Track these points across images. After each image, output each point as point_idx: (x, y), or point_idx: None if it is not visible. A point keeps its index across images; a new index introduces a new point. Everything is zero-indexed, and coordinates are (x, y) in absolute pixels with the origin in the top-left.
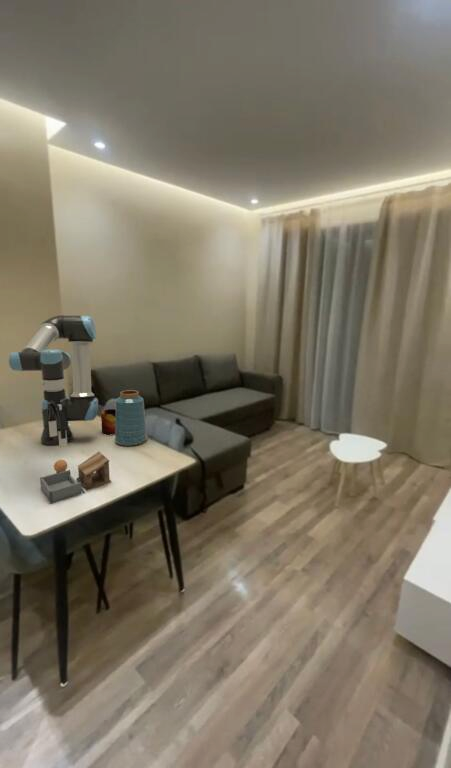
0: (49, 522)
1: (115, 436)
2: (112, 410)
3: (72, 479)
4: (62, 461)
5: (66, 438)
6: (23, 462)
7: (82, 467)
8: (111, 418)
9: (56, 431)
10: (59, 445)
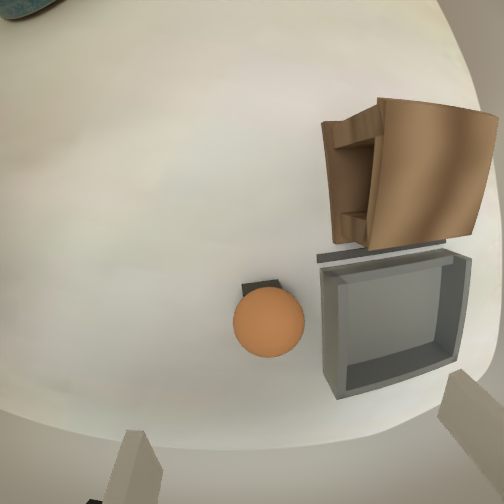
0: (491, 339)
1: (14, 4)
2: None
3: (388, 274)
4: (287, 326)
5: (497, 404)
6: (57, 393)
7: (411, 232)
8: None
9: (135, 468)
10: (444, 420)
